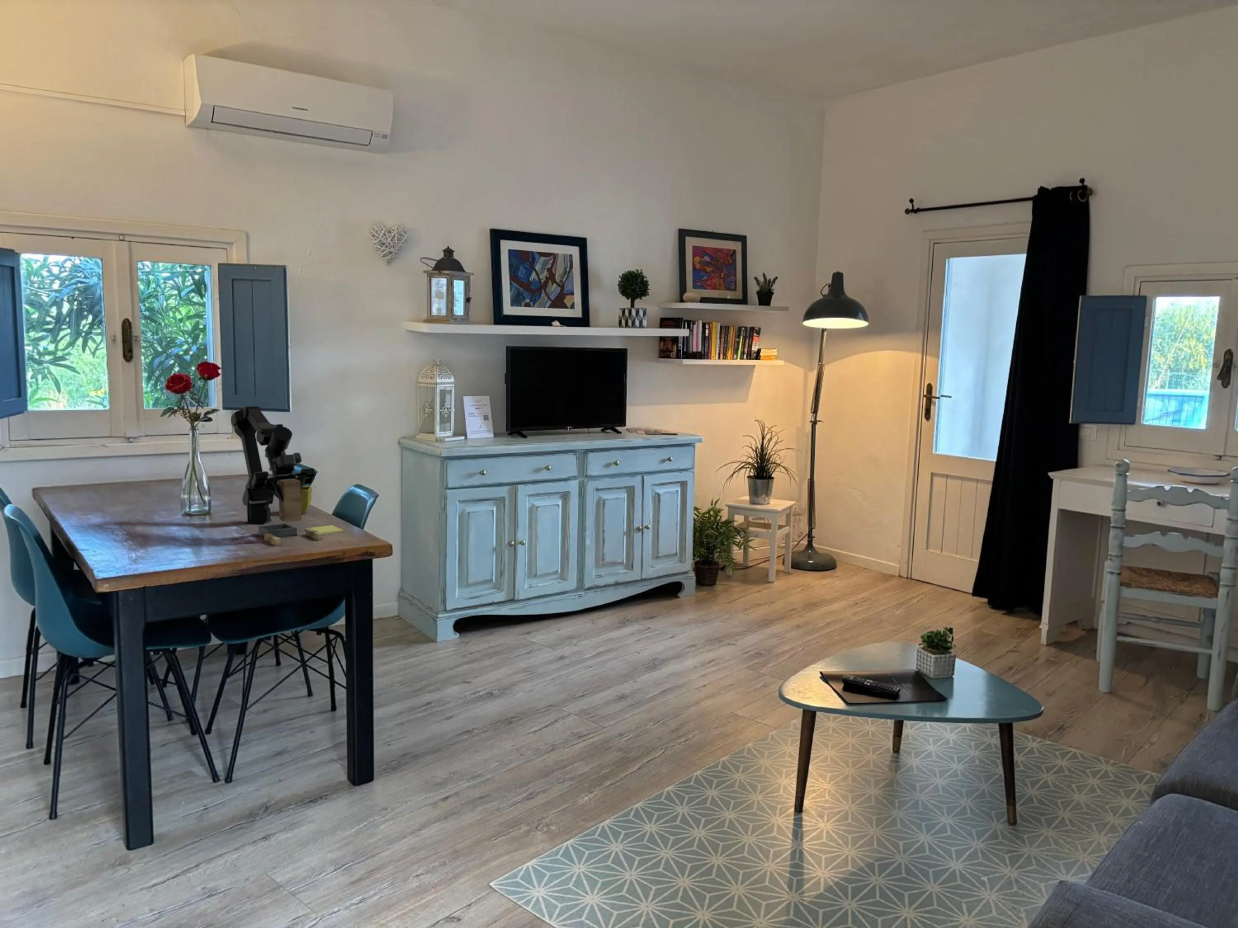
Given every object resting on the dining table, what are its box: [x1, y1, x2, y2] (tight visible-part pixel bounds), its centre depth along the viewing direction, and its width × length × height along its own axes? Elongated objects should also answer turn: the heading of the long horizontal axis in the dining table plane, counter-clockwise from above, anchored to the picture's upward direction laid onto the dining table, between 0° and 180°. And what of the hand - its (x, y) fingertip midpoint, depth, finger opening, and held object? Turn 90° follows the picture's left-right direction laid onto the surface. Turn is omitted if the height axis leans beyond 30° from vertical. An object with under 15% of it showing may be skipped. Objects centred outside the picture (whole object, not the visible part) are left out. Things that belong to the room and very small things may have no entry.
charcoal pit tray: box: [257, 522, 298, 538], centre depth 286 cm, size 9×9×2 cm
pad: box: [304, 524, 344, 535], centre depth 293 cm, size 9×9×1 cm
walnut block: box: [278, 479, 302, 523], centre depth 280 cm, size 5×5×12 cm
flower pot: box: [301, 485, 313, 515], centre depth 321 cm, size 9×9×9 cm
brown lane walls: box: [263, 527, 324, 547], centre depth 279 cm, size 10×14×2 cm
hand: (291, 499), depth 278 cm, fingers closed on walnut block, 5 cm apart
